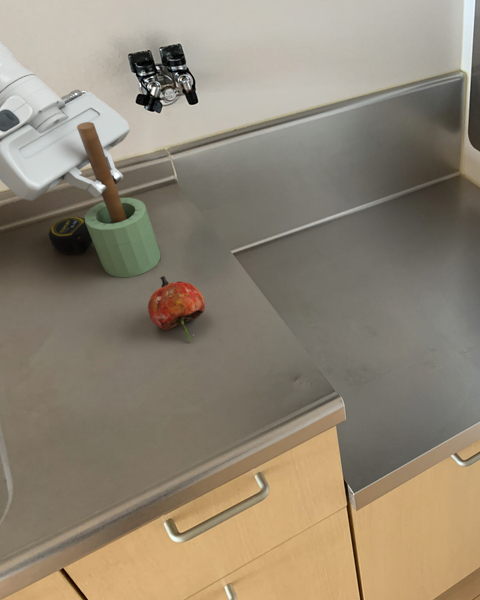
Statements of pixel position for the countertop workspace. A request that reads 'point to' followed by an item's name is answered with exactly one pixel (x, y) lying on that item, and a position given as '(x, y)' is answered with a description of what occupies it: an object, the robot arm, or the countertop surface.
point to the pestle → (101, 171)
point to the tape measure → (70, 235)
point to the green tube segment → (124, 239)
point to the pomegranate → (175, 304)
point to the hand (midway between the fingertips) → (110, 187)
